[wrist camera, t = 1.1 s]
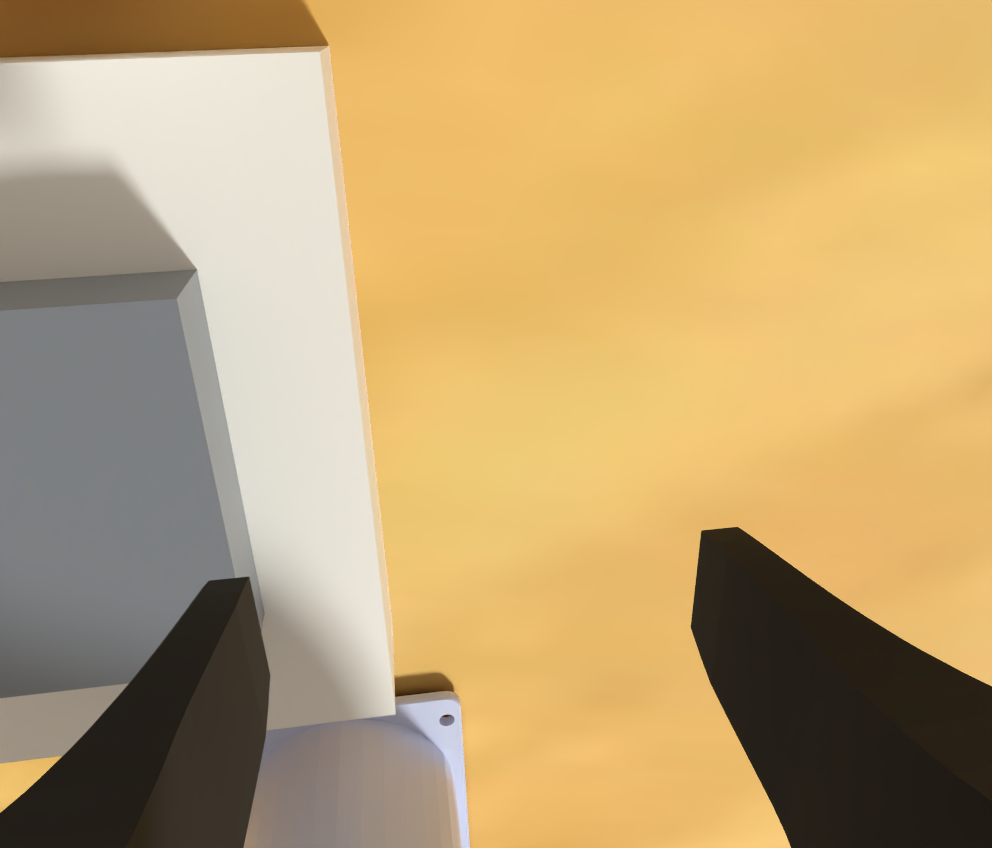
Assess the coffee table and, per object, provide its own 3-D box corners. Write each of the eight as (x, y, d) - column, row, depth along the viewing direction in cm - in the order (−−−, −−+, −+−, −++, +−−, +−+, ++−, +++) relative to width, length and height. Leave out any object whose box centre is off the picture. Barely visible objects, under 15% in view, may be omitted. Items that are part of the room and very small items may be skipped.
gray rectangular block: (264, 613, 21) (254, 668, 19) (17, 640, 20) (-17, 700, 19) (197, 269, 17) (176, 299, 15) (-113, 289, 16) (-174, 321, 15)
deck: (392, 621, 27) (395, 714, 23) (2, 665, 25) (-58, 770, 22) (329, 45, 19) (320, 51, 16) (-231, 66, 18) (-382, 77, 14)
